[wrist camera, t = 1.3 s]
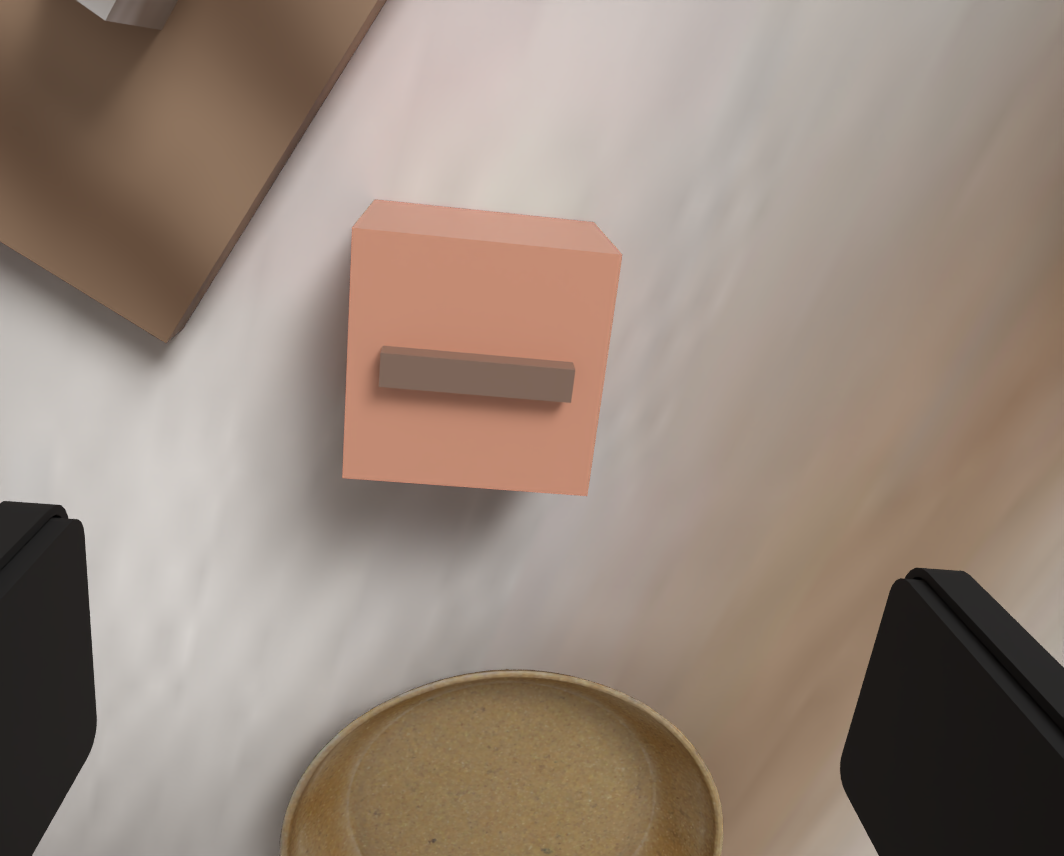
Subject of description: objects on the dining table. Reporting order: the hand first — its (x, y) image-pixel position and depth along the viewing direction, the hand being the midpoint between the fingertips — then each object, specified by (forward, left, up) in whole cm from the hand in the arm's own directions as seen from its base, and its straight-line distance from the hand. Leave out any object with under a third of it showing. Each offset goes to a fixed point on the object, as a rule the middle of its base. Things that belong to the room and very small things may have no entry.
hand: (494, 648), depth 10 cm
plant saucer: (-14, -11, -17) cm, 25 cm away
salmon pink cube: (0, 0, -16) cm, 16 cm away
